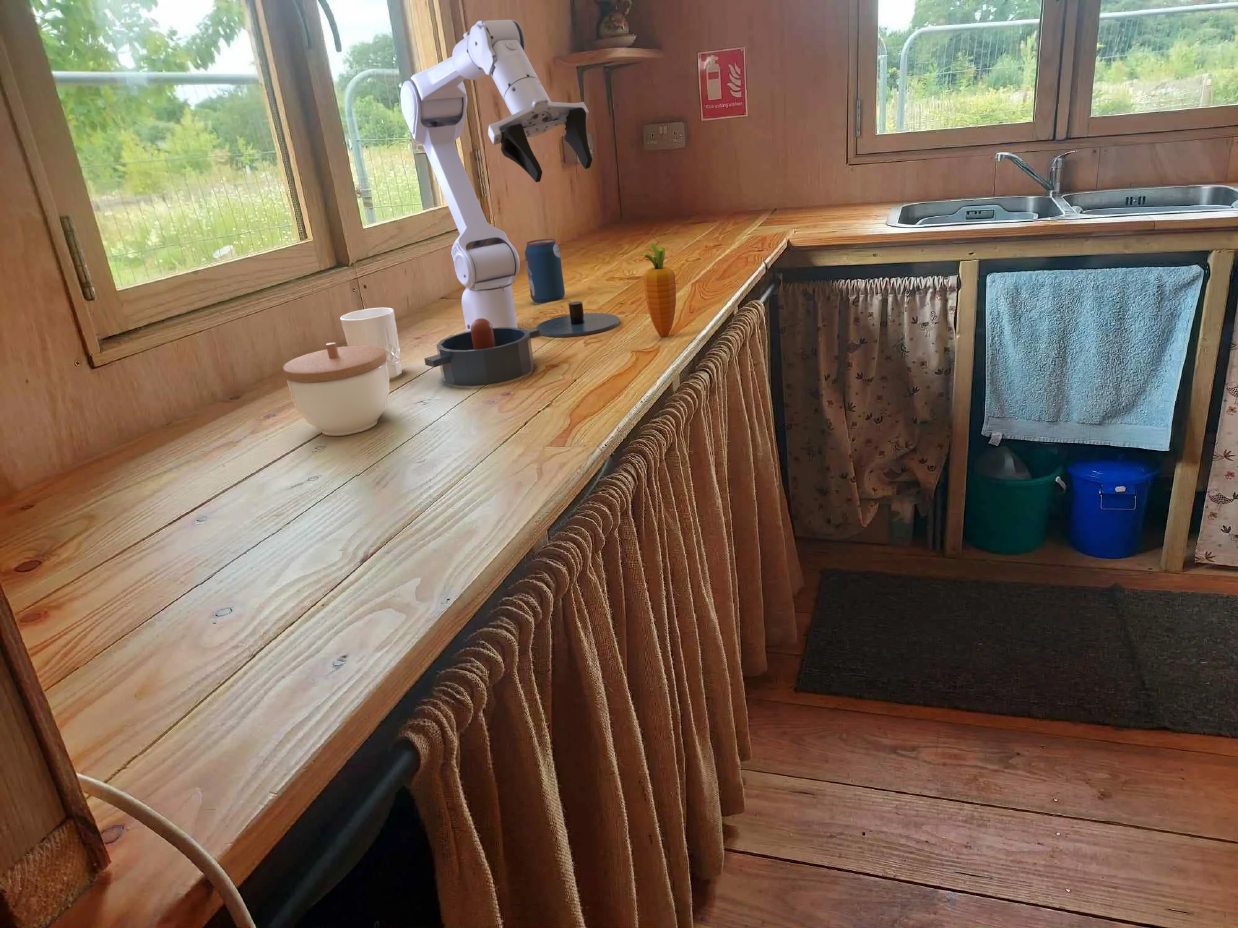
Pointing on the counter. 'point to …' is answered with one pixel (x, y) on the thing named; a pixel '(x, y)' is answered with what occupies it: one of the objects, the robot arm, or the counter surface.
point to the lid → (578, 323)
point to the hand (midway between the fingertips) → (564, 170)
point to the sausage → (482, 334)
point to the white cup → (374, 333)
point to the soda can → (544, 271)
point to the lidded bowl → (340, 387)
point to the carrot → (660, 292)
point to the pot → (485, 357)
